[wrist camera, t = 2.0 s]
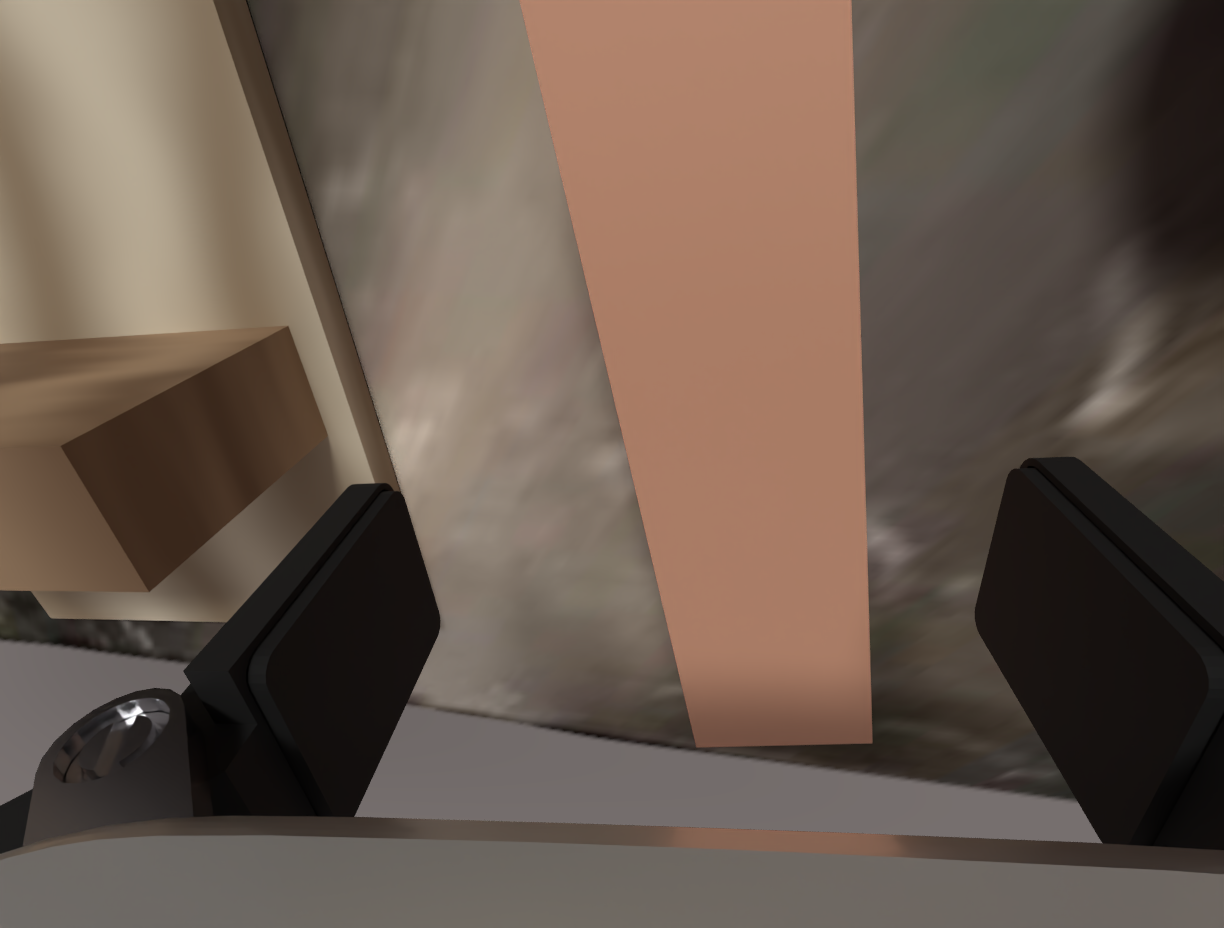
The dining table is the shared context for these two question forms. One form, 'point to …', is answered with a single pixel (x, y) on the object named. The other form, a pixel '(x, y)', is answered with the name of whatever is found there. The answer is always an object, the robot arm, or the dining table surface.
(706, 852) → the robot arm
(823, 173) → the beam
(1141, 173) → the dining table surface
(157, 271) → the stand
